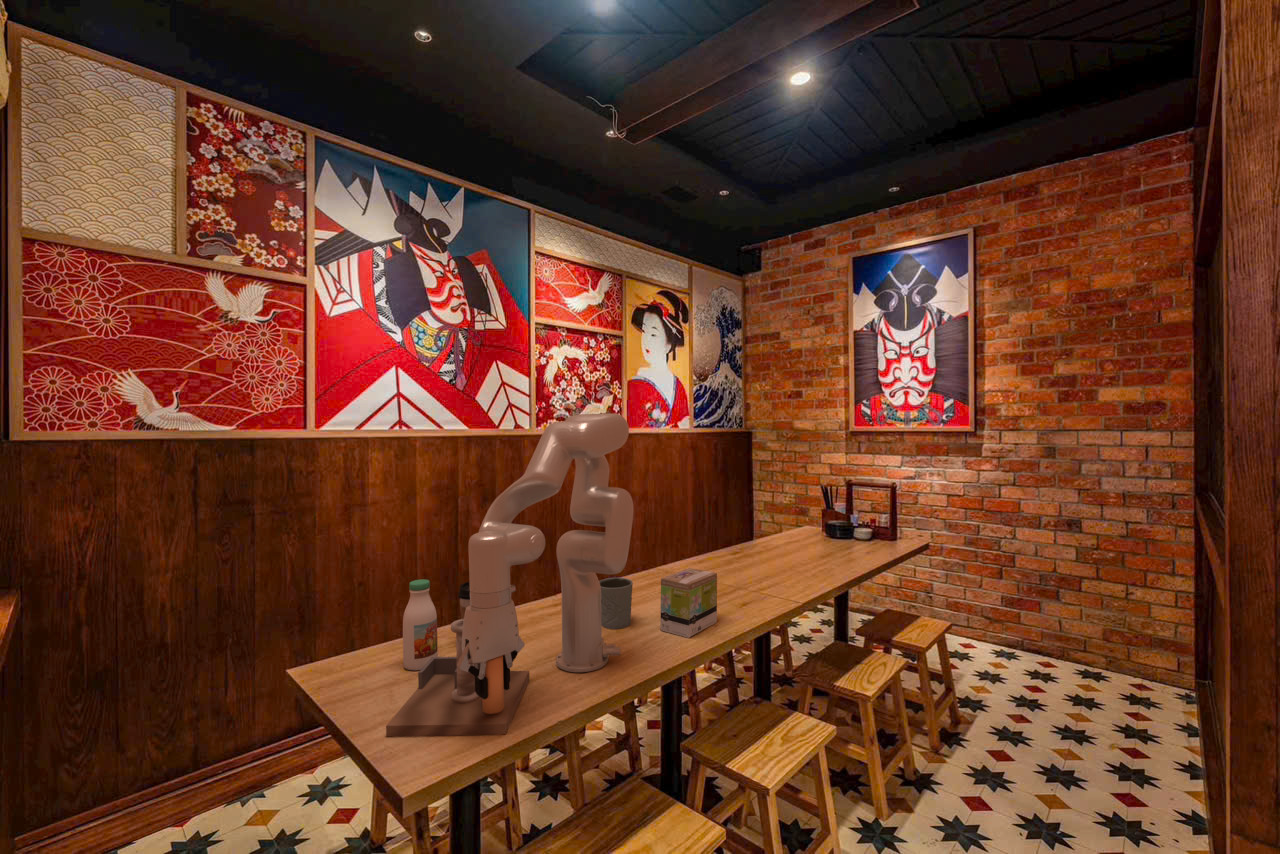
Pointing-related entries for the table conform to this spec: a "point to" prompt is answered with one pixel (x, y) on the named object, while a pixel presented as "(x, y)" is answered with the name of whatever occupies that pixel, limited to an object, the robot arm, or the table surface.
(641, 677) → the table surface
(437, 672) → the notch block
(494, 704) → the plug
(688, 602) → the tea box
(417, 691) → the board
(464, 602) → the coffee cup
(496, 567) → the robot arm
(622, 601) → the grey green embossed cup
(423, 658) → the milk bottle
